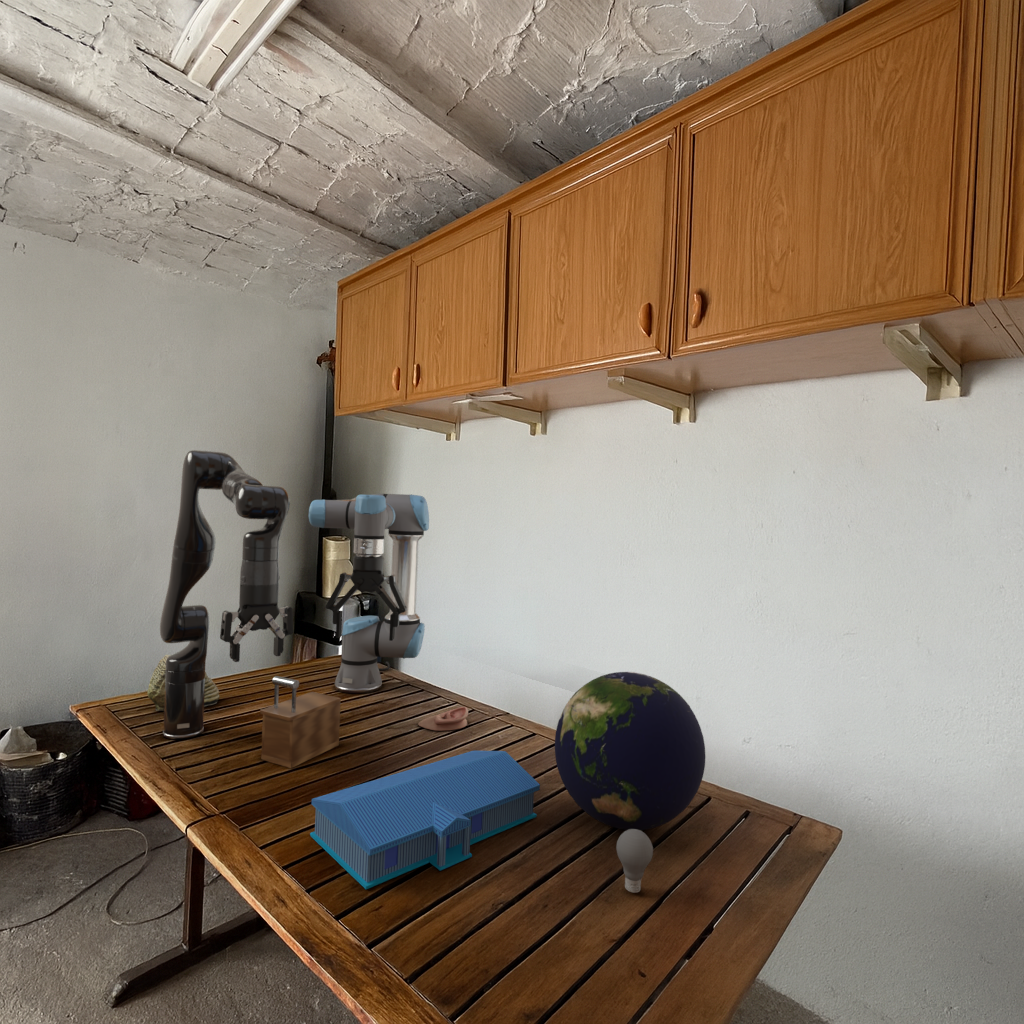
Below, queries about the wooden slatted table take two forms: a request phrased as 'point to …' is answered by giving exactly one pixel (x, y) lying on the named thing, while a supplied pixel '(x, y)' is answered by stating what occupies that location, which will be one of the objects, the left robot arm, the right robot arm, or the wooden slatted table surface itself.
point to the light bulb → (634, 857)
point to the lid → (296, 701)
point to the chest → (300, 736)
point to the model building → (423, 815)
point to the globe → (630, 751)
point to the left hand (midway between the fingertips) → (256, 658)
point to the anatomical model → (446, 720)
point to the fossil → (158, 687)
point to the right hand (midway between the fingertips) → (365, 638)
